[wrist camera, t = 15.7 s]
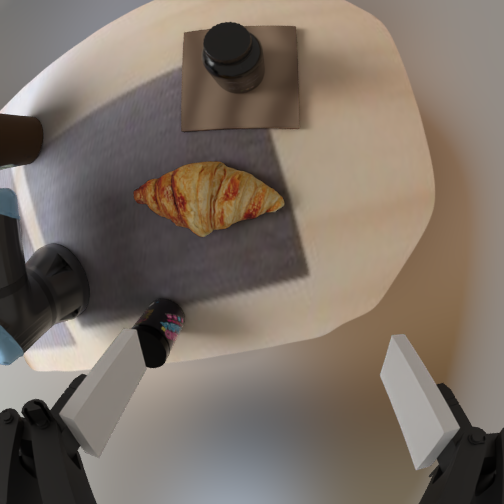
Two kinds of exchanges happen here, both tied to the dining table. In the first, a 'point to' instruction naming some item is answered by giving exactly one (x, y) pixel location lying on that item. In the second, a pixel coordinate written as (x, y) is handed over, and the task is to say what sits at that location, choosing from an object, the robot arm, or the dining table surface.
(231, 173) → the croissant
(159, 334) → the supplement container
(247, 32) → the supplement bottle
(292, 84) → the brown cloth napkin
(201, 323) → the dining table surface
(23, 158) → the olive oil
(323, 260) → the dining table surface
